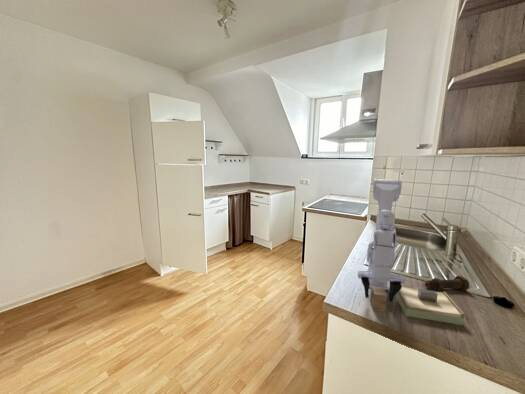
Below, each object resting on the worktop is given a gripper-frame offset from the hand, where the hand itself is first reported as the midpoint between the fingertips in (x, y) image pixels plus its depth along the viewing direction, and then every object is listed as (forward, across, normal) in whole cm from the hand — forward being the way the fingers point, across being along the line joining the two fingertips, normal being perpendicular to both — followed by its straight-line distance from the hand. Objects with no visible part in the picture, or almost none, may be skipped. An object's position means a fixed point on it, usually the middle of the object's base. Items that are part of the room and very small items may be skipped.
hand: (378, 298), depth 79 cm
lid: (0, +16, +3) cm, 16 cm away
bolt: (+3, +28, +19) cm, 34 cm away
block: (+3, 0, 0) cm, 3 cm away
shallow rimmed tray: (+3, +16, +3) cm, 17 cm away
